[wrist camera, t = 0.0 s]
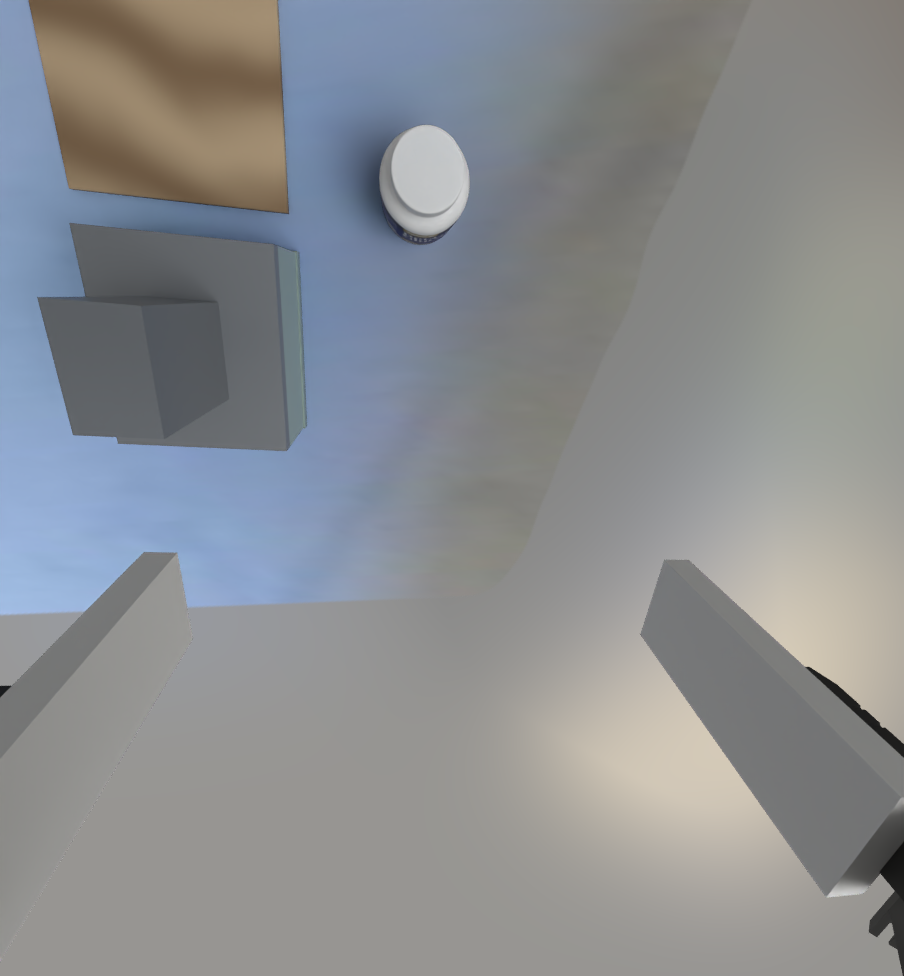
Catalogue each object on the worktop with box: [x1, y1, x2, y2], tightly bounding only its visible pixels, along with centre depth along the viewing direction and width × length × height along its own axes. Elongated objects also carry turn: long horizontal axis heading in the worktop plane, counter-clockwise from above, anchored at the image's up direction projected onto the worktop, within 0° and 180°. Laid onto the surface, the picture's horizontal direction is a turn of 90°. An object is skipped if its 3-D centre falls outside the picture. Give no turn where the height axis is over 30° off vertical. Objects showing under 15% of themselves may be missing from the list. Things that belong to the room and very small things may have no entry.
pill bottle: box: [379, 125, 470, 245], centre depth 28 cm, size 5×5×10 cm
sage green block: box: [278, 246, 307, 446], centre depth 32 cm, size 13×11×6 cm
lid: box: [37, 223, 290, 451], centre depth 25 cm, size 13×11×10 cm
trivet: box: [29, 0, 289, 214], centre depth 27 cm, size 16×14×1 cm
